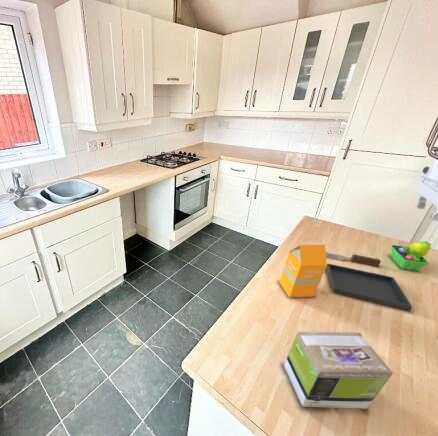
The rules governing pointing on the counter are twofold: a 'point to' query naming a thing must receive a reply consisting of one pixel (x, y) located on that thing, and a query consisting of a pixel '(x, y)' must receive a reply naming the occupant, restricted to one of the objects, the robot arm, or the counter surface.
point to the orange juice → (303, 270)
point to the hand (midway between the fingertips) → (426, 213)
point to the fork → (357, 259)
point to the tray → (367, 286)
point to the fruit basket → (411, 255)
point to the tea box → (335, 370)
